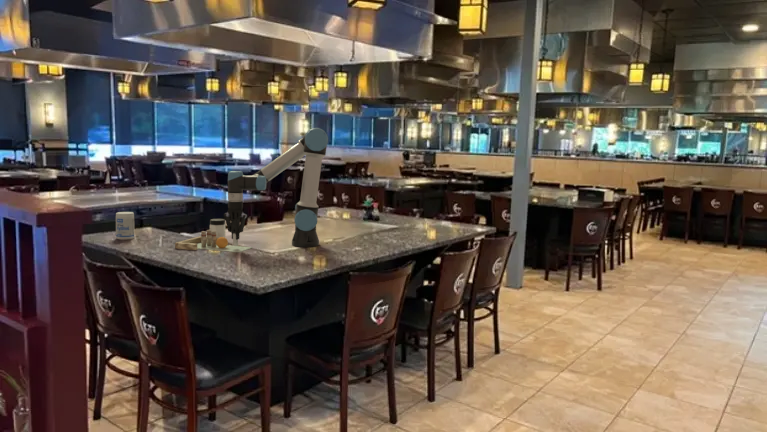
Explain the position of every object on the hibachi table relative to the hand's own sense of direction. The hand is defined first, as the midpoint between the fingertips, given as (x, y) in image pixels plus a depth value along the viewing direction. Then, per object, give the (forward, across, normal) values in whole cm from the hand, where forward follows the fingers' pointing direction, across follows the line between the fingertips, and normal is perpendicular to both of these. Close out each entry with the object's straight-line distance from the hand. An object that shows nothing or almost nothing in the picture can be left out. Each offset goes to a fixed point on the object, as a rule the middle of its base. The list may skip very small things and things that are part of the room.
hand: (235, 245), depth 301 cm
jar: (+2, -22, +18) cm, 29 cm away
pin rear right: (+2, -18, +3) cm, 18 cm away
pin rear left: (+2, -18, -2) cm, 18 cm away
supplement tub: (+3, -71, +2) cm, 71 cm away
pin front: (+2, -13, 0) cm, 13 cm away
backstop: (+2, -23, 0) cm, 23 cm away
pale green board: (+2, -10, 0) cm, 10 cm away
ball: (-1, -8, 0) cm, 8 cm away
